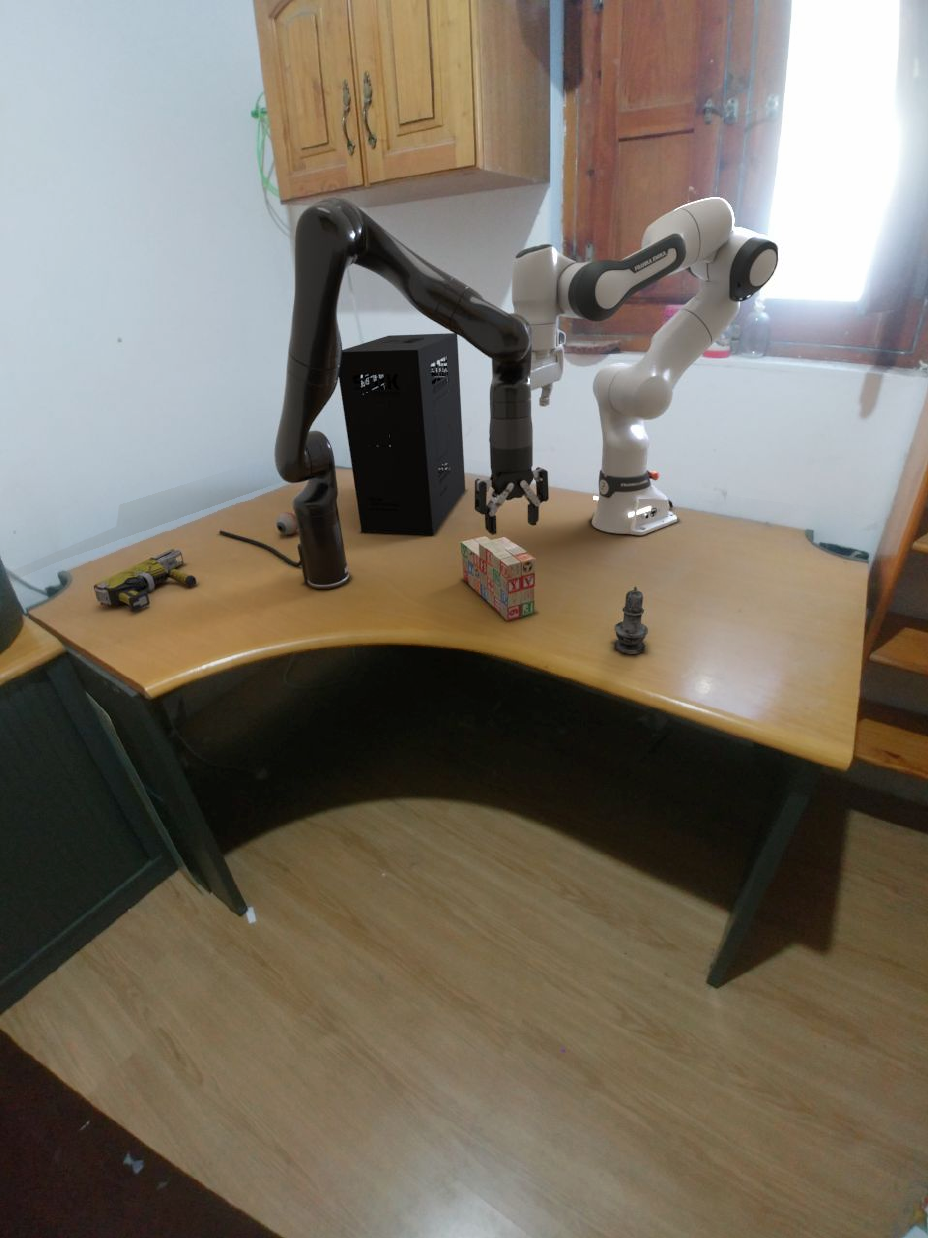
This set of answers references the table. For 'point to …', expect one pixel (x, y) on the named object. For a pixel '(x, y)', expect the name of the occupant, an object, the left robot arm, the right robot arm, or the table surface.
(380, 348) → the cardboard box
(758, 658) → the table surface
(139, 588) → the toy gun
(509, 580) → the stack of blocks
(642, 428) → the right robot arm
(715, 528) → the table surface
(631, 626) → the grey chess piece
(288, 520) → the eyeball
